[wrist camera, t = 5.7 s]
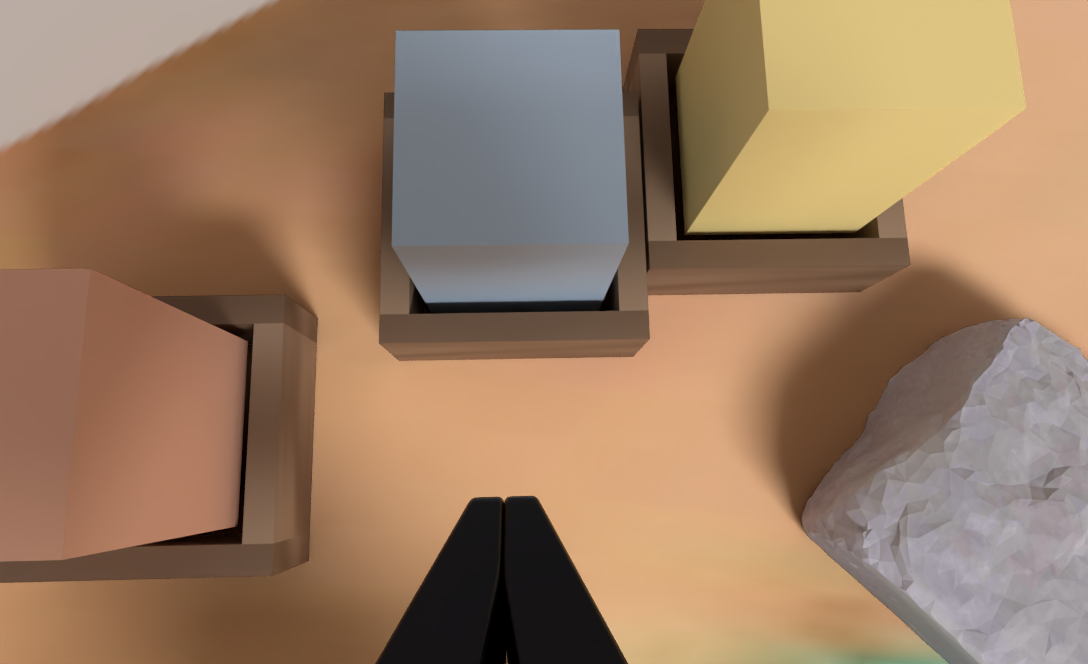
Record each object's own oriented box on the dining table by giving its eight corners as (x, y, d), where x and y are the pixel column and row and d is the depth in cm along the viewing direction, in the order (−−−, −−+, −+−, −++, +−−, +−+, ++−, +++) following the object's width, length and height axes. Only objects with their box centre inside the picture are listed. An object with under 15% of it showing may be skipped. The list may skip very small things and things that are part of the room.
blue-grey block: (595, 316, 23) (628, 243, 15) (435, 319, 23) (391, 245, 15) (590, 166, 24) (619, 29, 16) (436, 167, 24) (395, 30, 16)
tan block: (237, 526, 19) (61, 560, 12) (46, 530, 19) (-249, 567, 12) (247, 341, 20) (90, 268, 13) (65, 344, 20) (-198, 272, 13)
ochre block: (854, 232, 21) (1026, 108, 14) (684, 234, 21) (769, 109, 14) (838, 76, 22) (991, -118, 15) (675, 77, 22) (749, -118, 15)
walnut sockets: (886, 546, 22) (945, 559, 19) (56, 566, 22) (-24, 583, 18) (837, 83, 25) (882, 28, 22) (104, 88, 24) (41, 32, 21)
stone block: (914, 315, 26) (762, 537, 22) (1022, 261, 21) (854, 528, 18) (1186, 545, 25) (1073, 813, 21) (1359, 539, 20) (1251, 876, 17)
